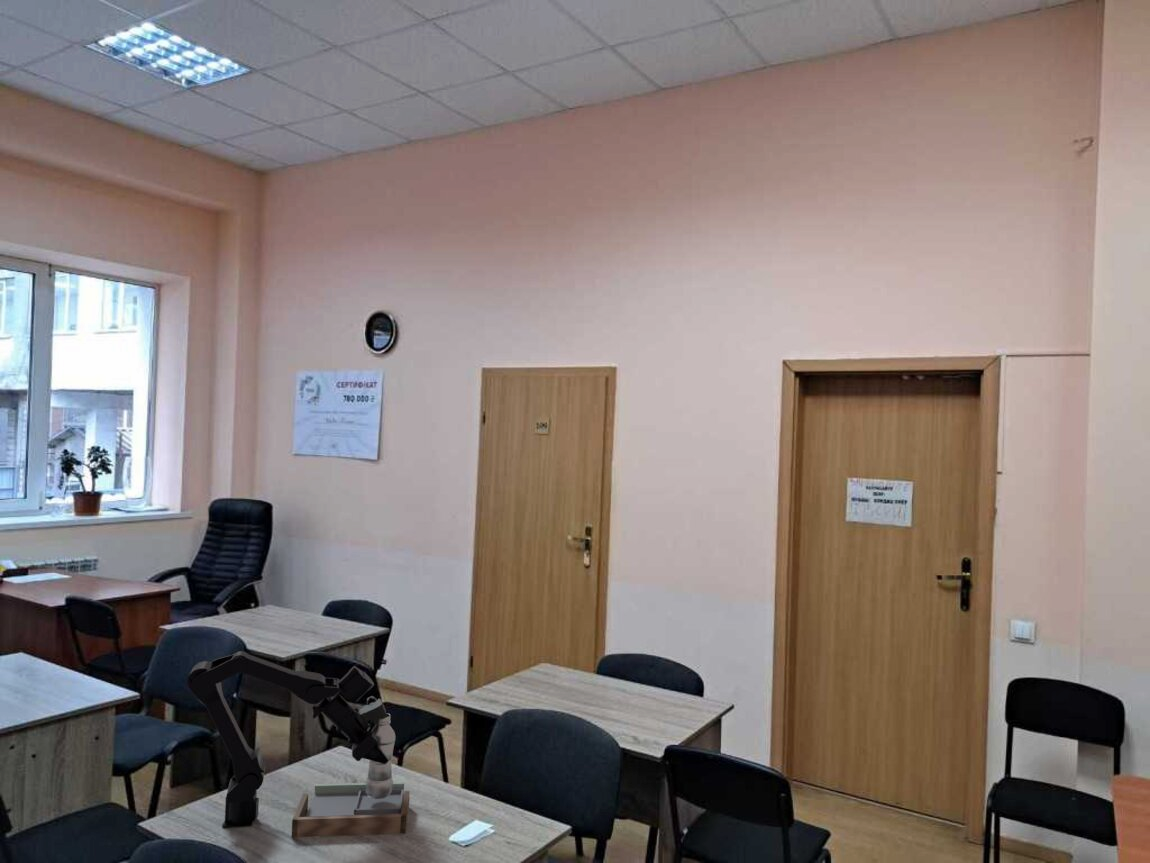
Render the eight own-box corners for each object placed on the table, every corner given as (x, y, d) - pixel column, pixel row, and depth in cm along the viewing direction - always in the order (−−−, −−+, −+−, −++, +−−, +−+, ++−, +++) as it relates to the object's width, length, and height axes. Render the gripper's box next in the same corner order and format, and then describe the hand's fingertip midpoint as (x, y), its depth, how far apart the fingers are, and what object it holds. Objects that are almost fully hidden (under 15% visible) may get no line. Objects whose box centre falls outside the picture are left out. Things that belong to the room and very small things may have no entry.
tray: (305, 819, 189) (306, 808, 189) (315, 795, 202) (315, 784, 202) (400, 817, 192) (400, 805, 192) (403, 792, 205) (404, 782, 205)
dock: (291, 837, 181) (292, 819, 181) (302, 810, 194) (303, 793, 194) (405, 833, 185) (406, 816, 185) (408, 807, 198) (409, 791, 198)
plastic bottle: (372, 789, 202) (376, 709, 202) (397, 793, 200) (401, 712, 200) (359, 799, 195) (363, 717, 196) (385, 804, 194) (389, 721, 194)
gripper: (369, 703, 188) (414, 747, 191) (365, 679, 206) (407, 719, 209) (333, 739, 185) (379, 782, 188) (332, 711, 203) (374, 752, 206)
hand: (386, 757), depth 198 cm, fingers closed on plastic bottle, 6 cm apart
